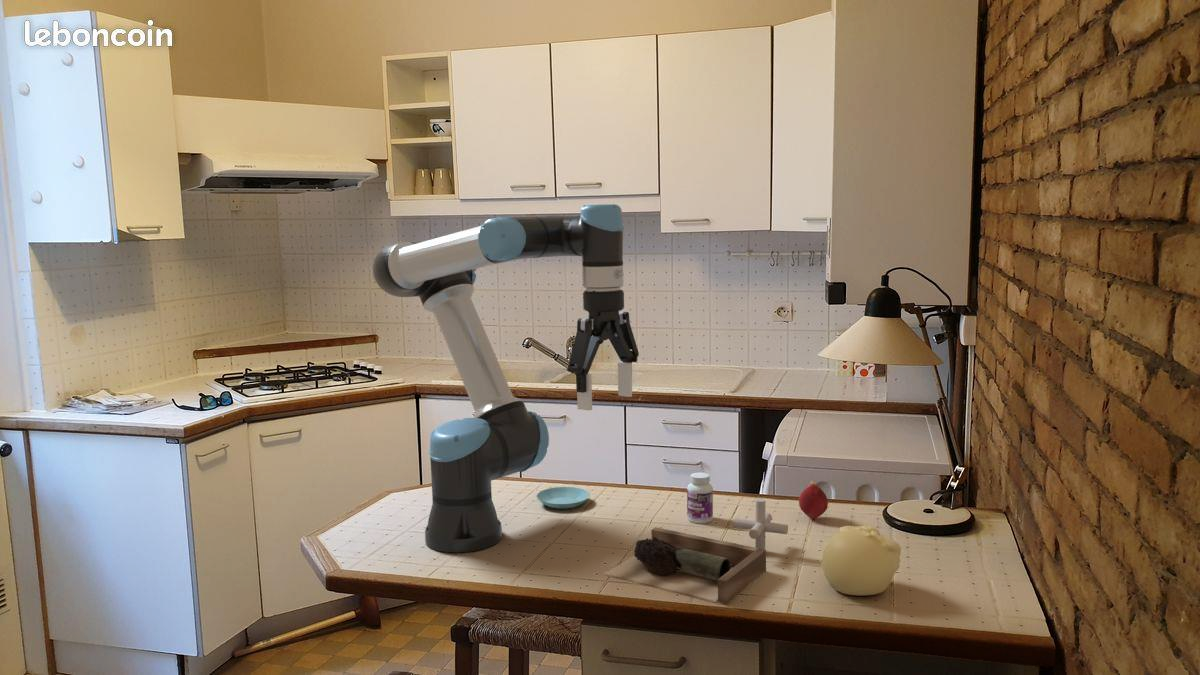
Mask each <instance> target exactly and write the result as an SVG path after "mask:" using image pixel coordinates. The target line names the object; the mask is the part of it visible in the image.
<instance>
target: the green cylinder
mask: <svg viewBox="0 0 1200 675" xmlns="http://www.w3.org/2000/svg"><path fill="white" fill-rule="evenodd" d="M633 556H635V557H636V558H637V560H640V562H642V563H643V564H644V565H645V566H646V567H647V568H648V571H649V572H650V573H652V574H657V575H659V576H665V575H669V574H671V573H675V572H676V571H677V570H678V571H683V572H686V573H690V574H693V575H696V576H700V577H703V578H707V579H710V580H714V581H717V582H718V579H719V578H720V577H722V576H723V575H724V574H726V573H727V572H728V571H729V570H731V569H732V567H730V560H729V559H727V558H723V557H719V556H715V555H710V554H706V553H702V552H698V551H693V550H688V549H684V548H676V547H674V546H672V545H670V544H668V543H667V542H665V541H663V540H659V539H658V538H656V537H655V536H654V538H653V540H652V538H646V539H639V540H637V541H636V542H635V548H634V555H633Z"/></svg>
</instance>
